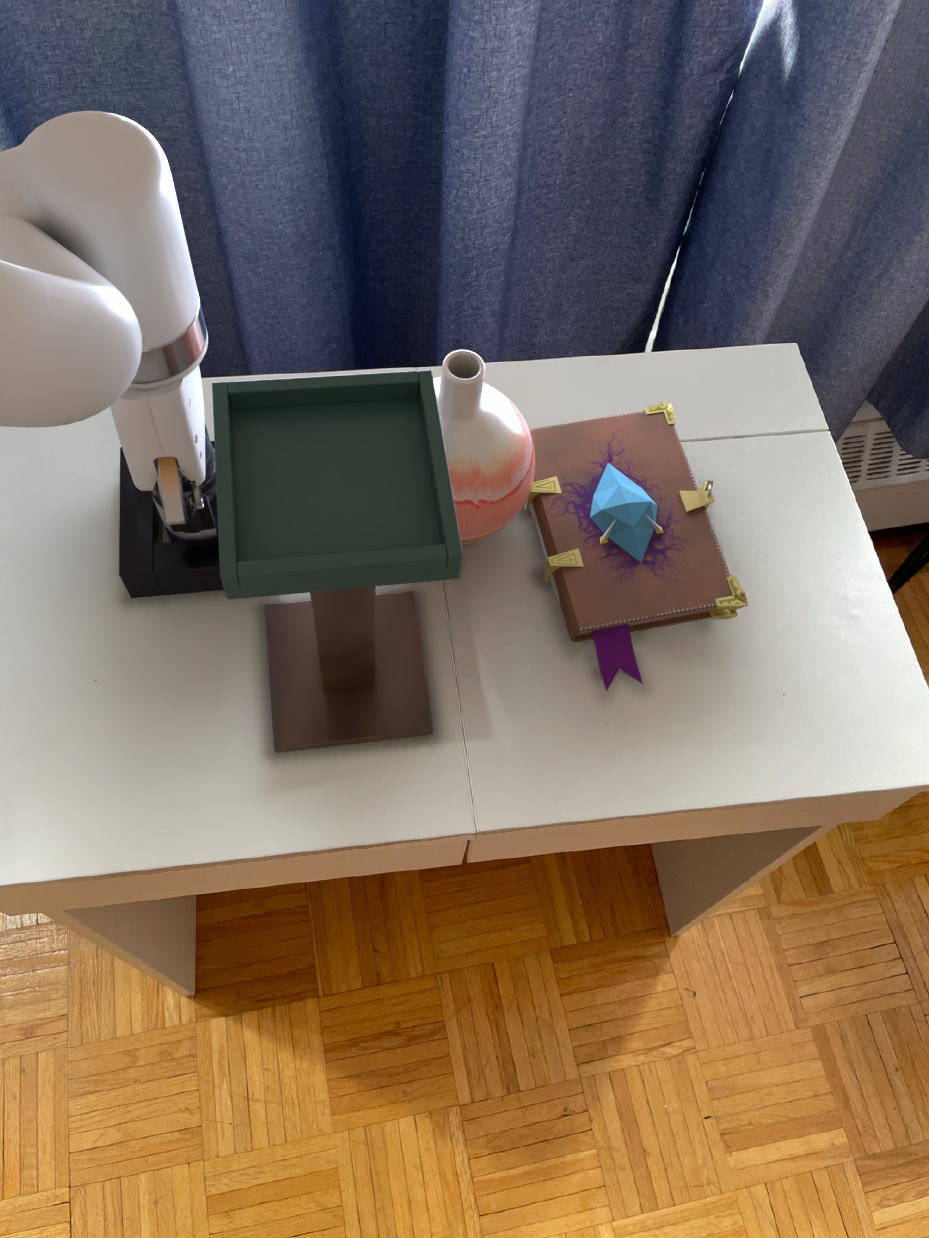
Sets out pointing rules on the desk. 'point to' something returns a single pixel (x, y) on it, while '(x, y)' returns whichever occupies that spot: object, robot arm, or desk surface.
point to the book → (626, 532)
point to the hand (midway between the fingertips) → (192, 488)
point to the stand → (346, 669)
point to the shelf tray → (332, 484)
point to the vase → (482, 448)
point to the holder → (159, 549)
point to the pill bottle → (206, 486)
